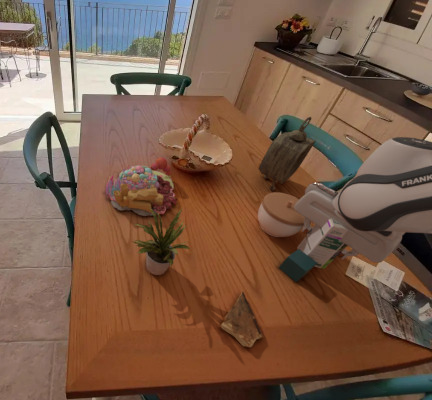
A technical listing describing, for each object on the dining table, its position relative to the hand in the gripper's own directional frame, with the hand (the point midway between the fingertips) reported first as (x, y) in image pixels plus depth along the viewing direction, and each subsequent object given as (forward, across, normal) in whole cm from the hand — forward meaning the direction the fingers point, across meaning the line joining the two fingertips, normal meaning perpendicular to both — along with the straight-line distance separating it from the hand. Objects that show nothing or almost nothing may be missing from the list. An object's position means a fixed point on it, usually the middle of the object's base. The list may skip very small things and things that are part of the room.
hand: (322, 244), depth 68 cm
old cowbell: (+7, -27, +23) cm, 36 cm away
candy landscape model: (+7, -45, -24) cm, 52 cm away
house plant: (+7, -20, -37) cm, 43 cm away
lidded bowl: (+7, -12, +2) cm, 14 cm away
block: (+7, 0, -7) cm, 10 cm away
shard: (+7, +1, -31) cm, 32 cm away
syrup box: (+6, 0, 0) cm, 6 cm away
